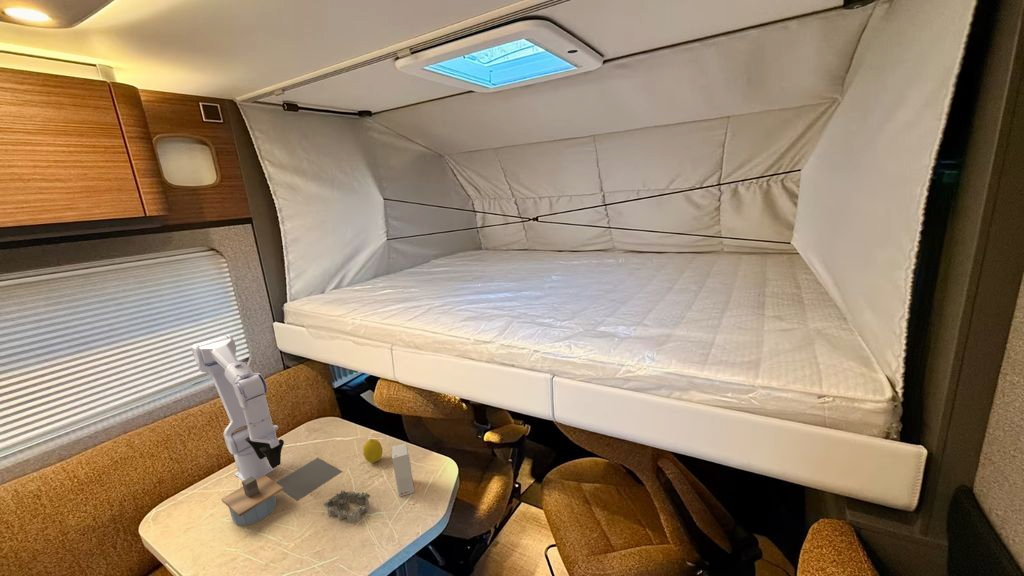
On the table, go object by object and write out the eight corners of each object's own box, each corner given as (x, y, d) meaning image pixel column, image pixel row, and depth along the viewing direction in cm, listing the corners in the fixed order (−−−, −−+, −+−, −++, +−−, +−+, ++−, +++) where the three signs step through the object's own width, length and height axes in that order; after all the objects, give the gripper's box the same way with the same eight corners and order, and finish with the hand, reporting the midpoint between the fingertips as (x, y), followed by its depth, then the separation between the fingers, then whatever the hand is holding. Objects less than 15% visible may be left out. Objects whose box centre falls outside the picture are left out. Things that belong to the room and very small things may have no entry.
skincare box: (414, 493, 115) (408, 454, 112) (398, 497, 114) (391, 458, 111) (413, 479, 120) (406, 442, 118) (398, 483, 119) (391, 446, 117)
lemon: (378, 468, 127) (374, 445, 125) (362, 467, 128) (357, 444, 126) (387, 457, 132) (383, 434, 130) (371, 456, 133) (367, 434, 131)
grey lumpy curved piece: (374, 506, 112) (372, 493, 111) (352, 527, 105) (349, 514, 104) (346, 496, 116) (343, 483, 115) (323, 515, 110) (320, 502, 109)
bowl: (227, 517, 112) (222, 501, 111) (266, 493, 120) (262, 478, 119) (243, 532, 107) (239, 515, 106) (283, 506, 114) (279, 490, 113)
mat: (273, 485, 124) (273, 484, 124) (317, 458, 135) (317, 457, 135) (297, 502, 116) (297, 500, 116) (342, 472, 127) (342, 471, 126)
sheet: (221, 500, 112) (217, 486, 111) (264, 476, 120) (260, 462, 119) (239, 516, 105) (235, 500, 104) (283, 489, 114) (279, 474, 113)
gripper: (285, 418, 113) (296, 461, 116) (262, 405, 122) (272, 446, 125) (258, 431, 108) (270, 476, 111) (235, 416, 117) (247, 459, 120)
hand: (269, 461), depth 118 cm, fingers open, 7 cm apart
